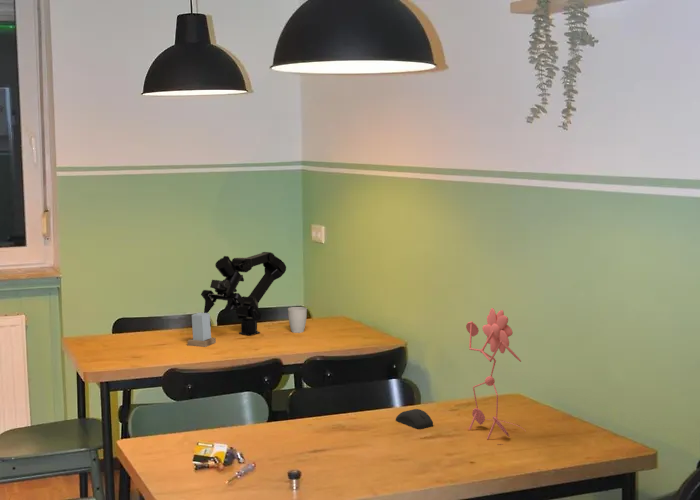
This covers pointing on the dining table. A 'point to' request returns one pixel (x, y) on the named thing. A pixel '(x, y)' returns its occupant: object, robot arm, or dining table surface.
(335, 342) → the dining table surface
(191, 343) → the upper slab
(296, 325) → the cup
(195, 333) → the grey upright block
